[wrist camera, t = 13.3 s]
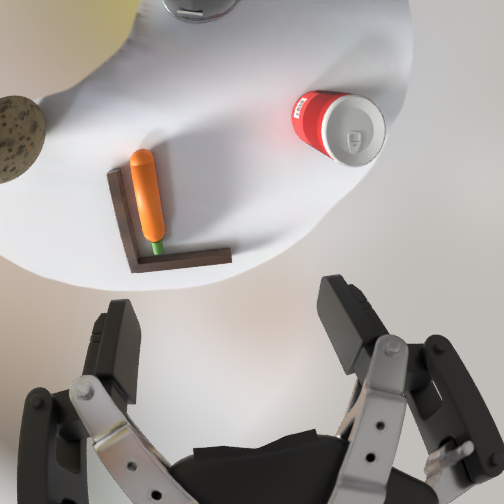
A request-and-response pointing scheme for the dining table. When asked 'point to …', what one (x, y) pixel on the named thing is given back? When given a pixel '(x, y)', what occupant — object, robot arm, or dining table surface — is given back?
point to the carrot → (148, 198)
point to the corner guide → (155, 261)
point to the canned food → (340, 126)
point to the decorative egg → (19, 136)
